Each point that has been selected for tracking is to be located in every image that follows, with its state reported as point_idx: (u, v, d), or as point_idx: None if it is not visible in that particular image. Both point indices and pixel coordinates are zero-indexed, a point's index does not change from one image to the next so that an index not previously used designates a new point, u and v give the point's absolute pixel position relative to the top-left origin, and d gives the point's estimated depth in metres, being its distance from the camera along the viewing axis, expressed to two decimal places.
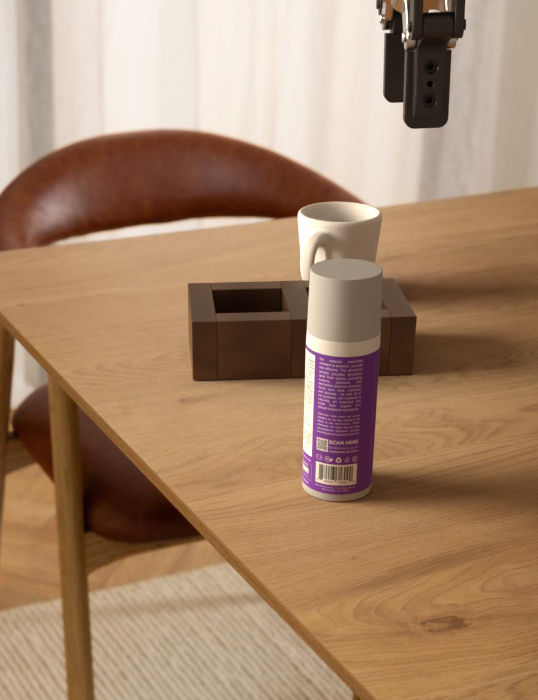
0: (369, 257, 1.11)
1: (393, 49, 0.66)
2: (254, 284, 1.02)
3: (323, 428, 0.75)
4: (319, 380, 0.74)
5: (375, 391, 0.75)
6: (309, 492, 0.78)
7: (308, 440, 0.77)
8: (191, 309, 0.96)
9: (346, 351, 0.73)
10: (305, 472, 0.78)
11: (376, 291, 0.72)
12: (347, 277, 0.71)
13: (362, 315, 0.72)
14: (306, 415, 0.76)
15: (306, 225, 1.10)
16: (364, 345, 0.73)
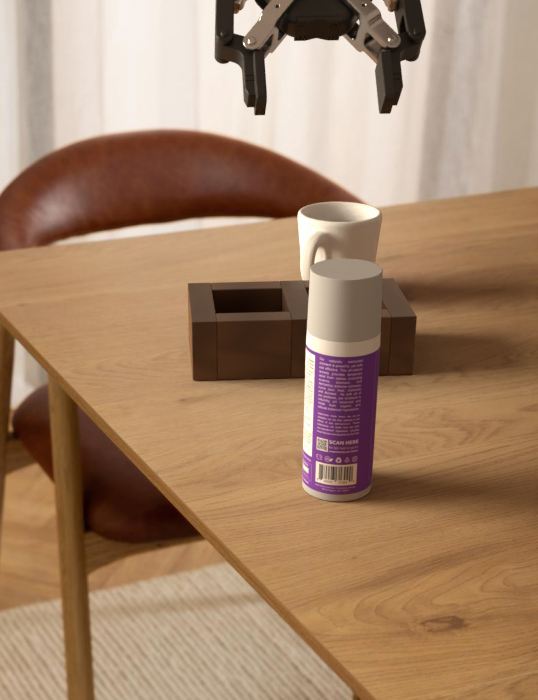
0: (369, 257, 1.11)
1: (377, 76, 0.81)
2: (254, 284, 1.02)
3: (323, 428, 0.75)
4: (319, 380, 0.74)
5: (375, 391, 0.75)
6: (309, 492, 0.78)
7: (308, 440, 0.77)
8: (191, 309, 0.96)
9: (346, 351, 0.73)
10: (305, 472, 0.78)
11: (376, 291, 0.72)
12: (347, 277, 0.71)
13: (363, 315, 0.72)
14: (306, 415, 0.76)
15: (306, 225, 1.10)
16: (364, 345, 0.73)
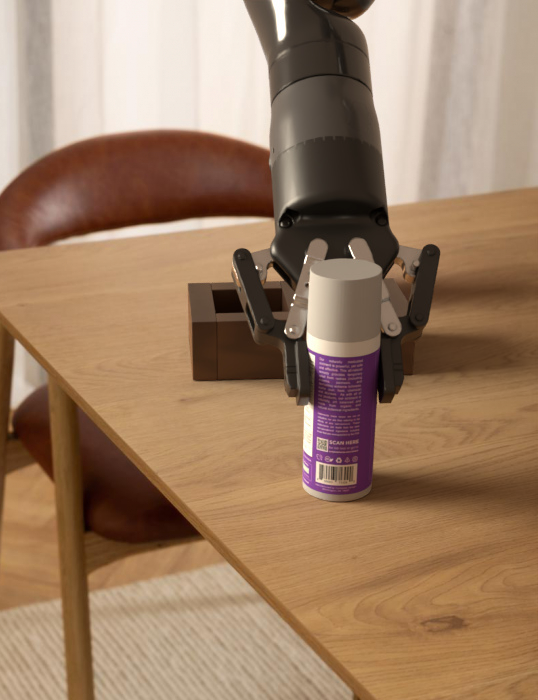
0: None
1: None
2: None
3: (323, 428, 0.75)
4: (319, 380, 0.74)
5: (375, 391, 0.75)
6: (309, 492, 0.78)
7: (308, 440, 0.77)
8: (191, 309, 0.96)
9: (346, 352, 0.73)
10: (305, 472, 0.78)
11: (376, 292, 0.72)
12: (347, 277, 0.71)
13: (362, 315, 0.72)
14: (306, 415, 0.76)
15: None
16: (364, 345, 0.73)
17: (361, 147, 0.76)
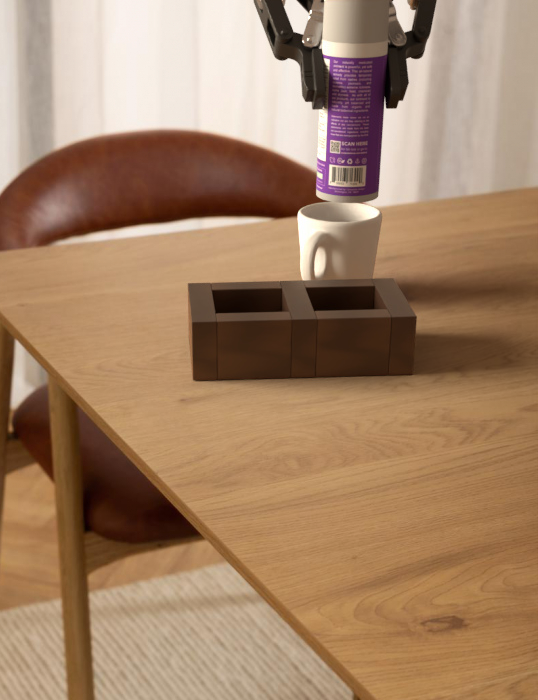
0: (369, 257, 1.11)
1: None
2: (254, 284, 1.02)
3: (336, 130, 0.85)
4: (333, 83, 0.83)
5: (382, 97, 0.84)
6: (323, 197, 0.87)
7: (322, 146, 0.86)
8: (191, 309, 0.96)
9: (357, 52, 0.82)
10: (319, 179, 0.87)
11: None
12: None
13: (372, 17, 0.81)
14: (321, 122, 0.85)
15: (306, 225, 1.10)
16: (373, 47, 0.82)
17: None
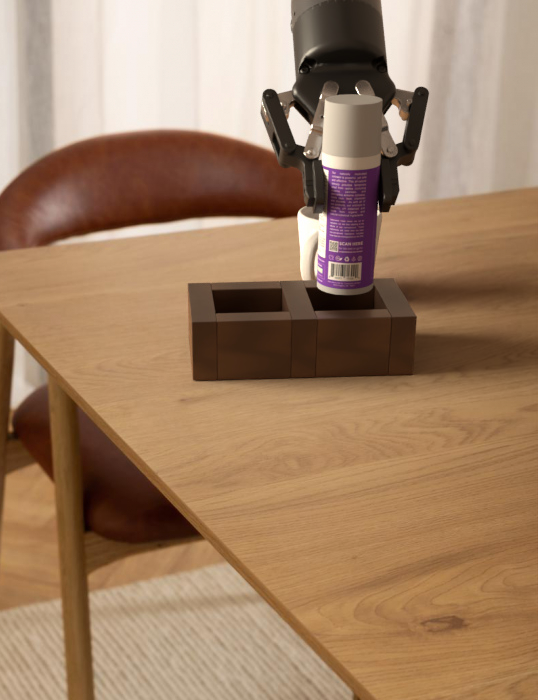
0: None
1: None
2: (254, 284, 1.02)
3: (334, 232, 0.94)
4: (331, 191, 0.93)
5: (376, 202, 0.94)
6: (323, 289, 0.97)
7: (322, 244, 0.96)
8: (191, 309, 0.96)
9: (353, 165, 0.91)
10: (319, 273, 0.97)
11: (377, 116, 0.91)
12: (354, 103, 0.90)
13: (366, 134, 0.91)
14: (321, 223, 0.95)
15: (306, 225, 1.10)
16: (367, 160, 0.91)
17: (365, 7, 0.95)
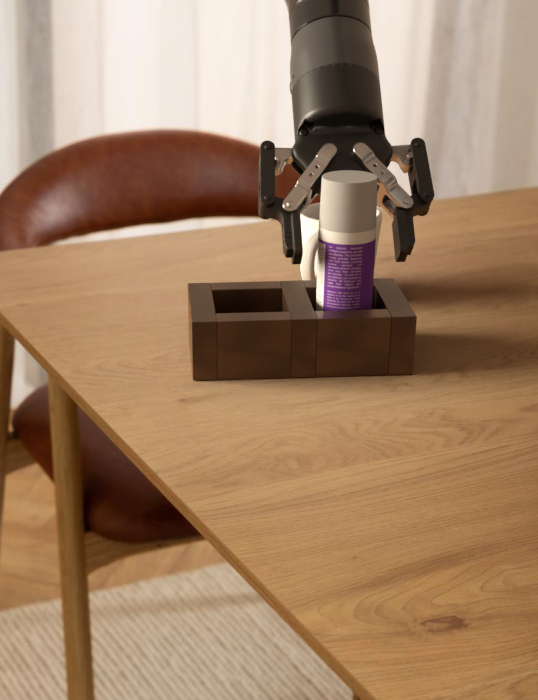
0: None
1: (393, 230, 0.97)
2: (254, 284, 1.02)
3: (331, 303, 0.97)
4: (328, 264, 0.96)
5: (372, 274, 0.97)
6: None
7: None
8: (191, 309, 0.96)
9: (349, 240, 0.94)
10: None
11: (373, 193, 0.93)
12: (350, 181, 0.93)
13: (362, 211, 0.93)
14: (318, 294, 0.98)
15: (306, 225, 1.10)
16: (363, 235, 0.94)
17: (363, 71, 0.97)
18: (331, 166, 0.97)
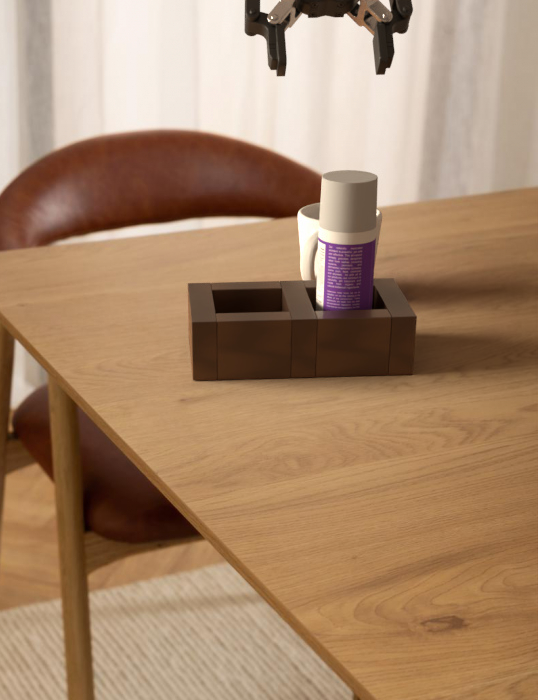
0: None
1: (374, 45, 1.02)
2: (254, 284, 1.02)
3: (331, 303, 0.97)
4: (328, 264, 0.96)
5: (372, 274, 0.97)
6: None
7: None
8: (191, 309, 0.96)
9: (349, 240, 0.94)
10: None
11: (373, 193, 0.93)
12: (350, 181, 0.93)
13: (362, 211, 0.93)
14: (318, 294, 0.98)
15: (306, 225, 1.10)
16: (363, 235, 0.94)
17: None
18: None
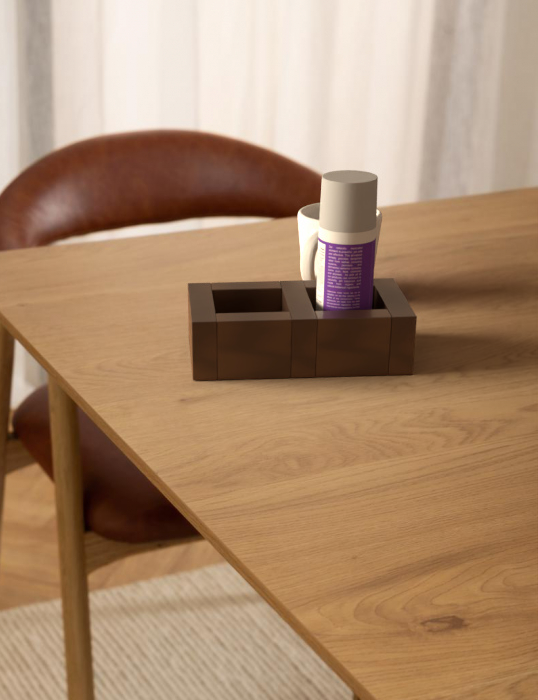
0: None
1: None
2: (254, 284, 1.02)
3: (331, 303, 0.97)
4: (328, 264, 0.96)
5: (372, 274, 0.97)
6: None
7: None
8: (191, 309, 0.96)
9: (349, 240, 0.94)
10: None
11: (373, 193, 0.93)
12: (350, 181, 0.93)
13: (362, 211, 0.93)
14: (318, 294, 0.98)
15: (306, 225, 1.10)
16: (363, 235, 0.94)
17: None
18: None
